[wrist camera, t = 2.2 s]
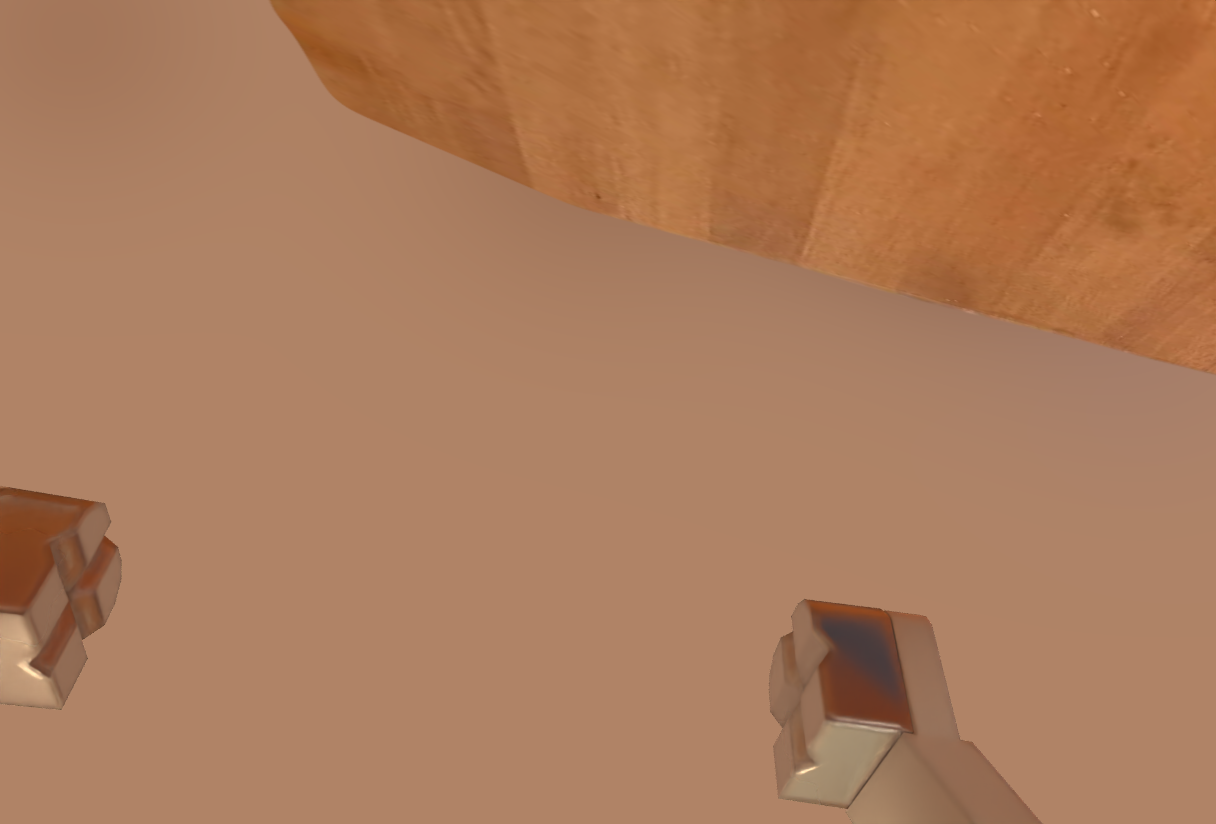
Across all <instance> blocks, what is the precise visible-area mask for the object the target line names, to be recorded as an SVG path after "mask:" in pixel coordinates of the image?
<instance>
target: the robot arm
mask: <svg viewBox="0 0 1216 824" xmlns="http://www.w3.org/2000/svg"><path fill="white" fill-rule="evenodd" d="M110 523H111V520H110V517H109V514H108V511H107V508H106V505H105V503H101V502H95V501H89V500H83V499H77V498H71V497H64V496H58V495H52V494H46V493H39V492H34V491H28V490H21V489H15V488H10V487H3V486H0V704H7V705H18V706H29V707H38V708H48V709H59V710H61V709H62V708H63V706H64V704H65V702H66V700H67V698H68V696H69V694H70V692H71V690H72V688H73V686H74V684H75V682H76V680H77V678H78V677H79V675H80V673H81V671H82V669H83V667H84V665H85V663H86V661H87V659H88V658H87V655H86V651H85V648H84V645H83V641H82V640H83V639H85V638H86V637H87V636H89V635H91V634H92V633H94V632H95V631H96V630H98V629H100V628H101V627H102V626H104V625H105V623H106V621H107V619H108V617H109V615H110V613H111V611H112V609H113V607H114V605H115V602H116V598H117V594H118V590H119V586H120V582H121V557H120V553H119V549H118V547H117V546H116V545H115V544H114V543H112V542H111V541H110V540H109V539H108V538H107V537H105V536H104V534H105V532H106V531H107V529H108V527H109V525H110ZM791 617H792V626H793V632H791V633H789V634H787V635H785V636H783V637H781V639H780V641H779V643H778V645H777V648H776V650H775V652H774V655H773V660H772V665H771V670H770V680H769V681H770V682H769V699H770V712H771V713H772V715H773V716H774V717H775V719H776V720H777V721H778V723H779V724H780V725H781V727H782V728H783V729H782V731H781V733H780V735H779V737H778V739H777V741H776V742H775V744H774V746H773V747H774V758H775V768H776V779H777V789H778V798H780V799H786V800H793V801H799V802H806V803H812V804H819V805H826V806H833V807H839V808H846V809H847V811H846V813H847V815H848V817H849V818H850V820H851V822H852V823H853V824H1042V823H1041V822H1040V820H1039V819H1038V818H1037V817H1036V816H1035V815H1034V814H1033V812H1032V811H1031V810H1030V809H1029V808H1028V806H1027V805H1026V804H1025V803H1024V802H1023V801H1022V799H1021V798H1020V797H1019V796H1018V795H1017V794H1016V792H1015V791H1014V790H1013V789H1012V788H1011V787H1010V785H1009V784H1008V783H1007V782H1006V781H1005V780H1004V778H1003V777H1002V776H1001V775H1000V774H999V773H998V772H997V770H996V769H995V768H994V767H993V766H992V764H991V763H990V762H989V761H988V760H987V759H986V757H985V756H984V755H983V754H982V753H981V752H980V750H979V749H978V748H977V747H976V746H975V745H974V743H973V742H969V741H963V740H960V737H959V733H958V729H957V724H956V720H955V717H954V712H953V708H952V704H951V700H950V696H949V692H948V688H947V684H946V680H945V676H944V672H943V668H942V664H941V660H940V656H939V652H938V647H937V644H936V640H935V635H934V631H933V627H932V624H931V623H930V621H929V620H928V619H927V617H926V616H921V615H916V614H908V613H900V612H892V611H883V610H882V609H879V608H870V607H863V606H855V605H846V604H839V603H831V602H822V601H814V600H807V599H804V600H802V601H801V602H800V603H798V605H797V607H796V608H795V610H794V612H793V614H792V616H791Z"/></svg>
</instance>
